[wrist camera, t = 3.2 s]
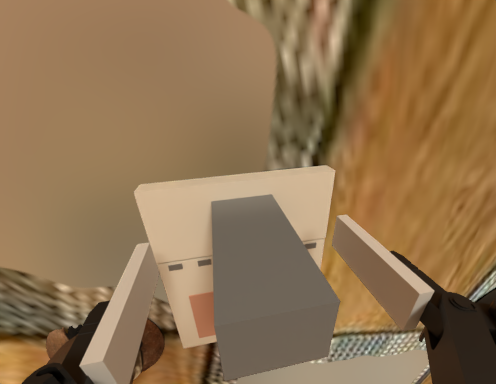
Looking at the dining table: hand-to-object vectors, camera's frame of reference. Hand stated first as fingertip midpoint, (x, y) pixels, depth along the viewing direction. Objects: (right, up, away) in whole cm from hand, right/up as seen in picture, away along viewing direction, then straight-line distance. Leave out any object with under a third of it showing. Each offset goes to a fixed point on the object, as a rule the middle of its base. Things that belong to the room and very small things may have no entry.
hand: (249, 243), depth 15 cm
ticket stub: (-1, +2, +5) cm, 5 cm away
